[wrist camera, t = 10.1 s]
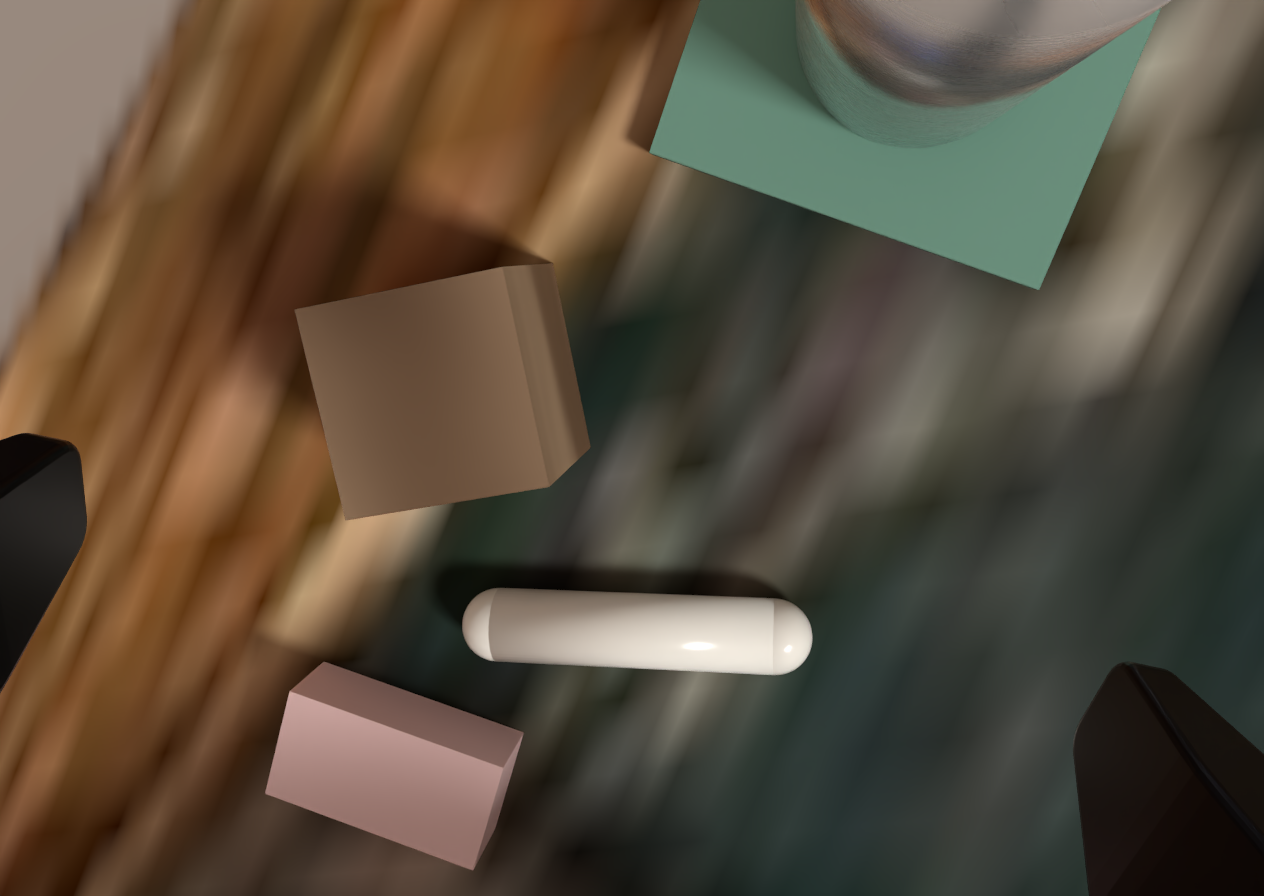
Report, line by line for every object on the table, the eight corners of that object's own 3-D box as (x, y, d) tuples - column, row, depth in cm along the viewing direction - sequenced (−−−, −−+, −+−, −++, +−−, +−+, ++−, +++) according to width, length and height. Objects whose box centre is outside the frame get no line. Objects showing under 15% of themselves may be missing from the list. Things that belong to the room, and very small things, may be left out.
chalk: (813, 589, 23) (813, 614, 22) (811, 660, 24) (812, 689, 22) (473, 577, 24) (450, 599, 23) (476, 643, 25) (453, 671, 23)
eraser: (526, 727, 25) (503, 768, 23) (498, 823, 26) (473, 870, 24) (328, 657, 26) (289, 691, 24) (305, 752, 26) (265, 793, 24)
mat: (1215, -134, 19) (1227, -146, 19) (1032, 288, 21) (1038, 289, 21) (795, -266, 20) (795, -282, 20) (653, 154, 22) (649, 152, 21)
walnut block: (553, 263, 23) (502, 267, 19) (591, 447, 23) (549, 486, 19) (378, 298, 24) (294, 309, 20) (419, 476, 24) (345, 520, 20)
